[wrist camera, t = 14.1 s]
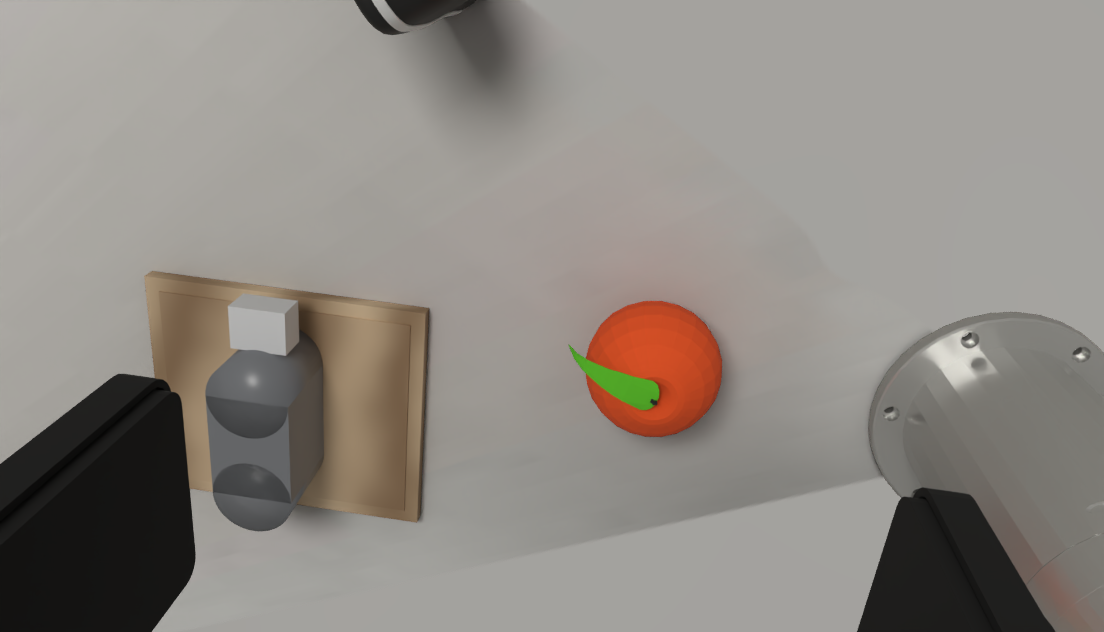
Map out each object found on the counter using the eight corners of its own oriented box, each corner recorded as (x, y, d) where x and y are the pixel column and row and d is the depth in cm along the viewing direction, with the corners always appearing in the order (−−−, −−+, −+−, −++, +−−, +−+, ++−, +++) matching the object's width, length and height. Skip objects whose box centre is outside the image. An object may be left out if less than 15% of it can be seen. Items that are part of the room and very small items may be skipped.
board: (428, 308, 47) (425, 314, 46) (420, 514, 52) (416, 523, 51) (152, 271, 48) (143, 276, 47) (172, 477, 53) (165, 485, 52)
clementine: (554, 363, 47) (538, 428, 41) (598, 255, 44) (589, 305, 38) (686, 413, 48) (692, 485, 41) (738, 308, 45) (753, 367, 38)
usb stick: (324, 484, 51) (292, 536, 47) (254, 474, 51) (215, 524, 47) (321, 291, 46) (285, 328, 41) (243, 281, 46) (199, 316, 42)
